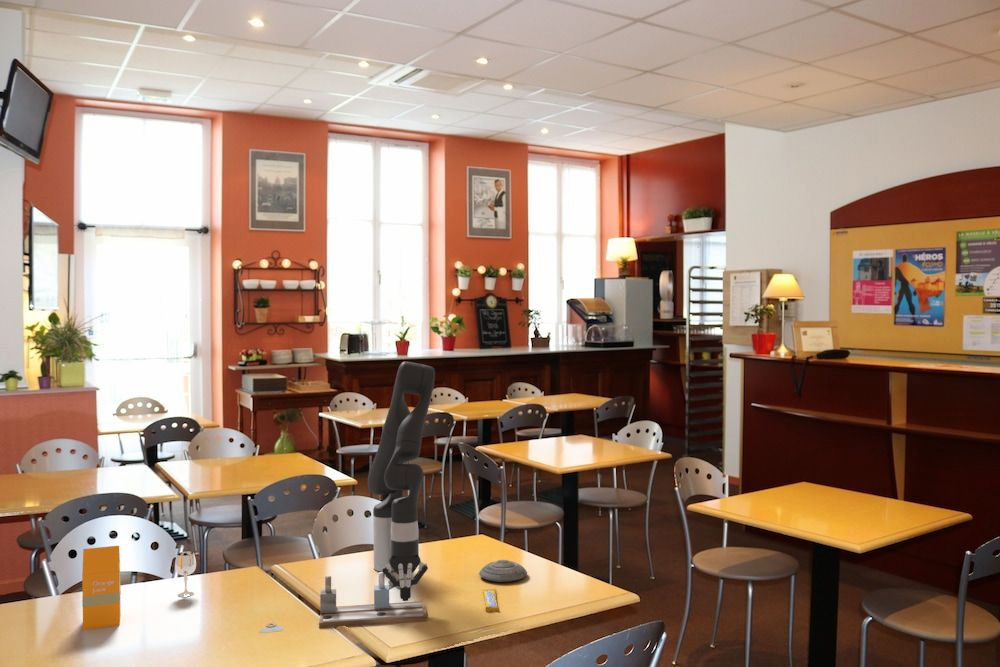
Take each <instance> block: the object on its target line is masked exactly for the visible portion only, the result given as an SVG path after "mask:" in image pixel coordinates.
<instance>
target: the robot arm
mask: <svg viewBox="0 0 1000 667" xmlns="http://www.w3.org/2000/svg"><path fill="white" fill-rule="evenodd" d="M435 379H436V371H435V368H434V366H430V365H426V364H422V363H417V362H412V361H403V362H401V363H400V365H399V366H398V369H397V372H396V377H395V380H394V385H393V386H394V387H393V391H392V396H391V402H390V406H389V408H388V412H387V414H386V418H385V420H384V424H383V428H382V431H381V436H380V441H379V444H378V447H377V451H376V453H375V456H374V458H373V460H372V462H371V466H370V468H369V471H368V475H367V488H368V491H369V492H370V493H371V494H372V495H376V496H379V495H388V496H387V497H386V498H385V499H384V500H382V501H381V502H379V503H377V504H375V505H374V506H373V509H372V510H373V512H372V513H373V515H372V518H373V525H372V526H373V569H374V570H375V571H377V572H383V573H384V576H386V577H387V579H388V581H391V582H392V584H393V585H394V586H399V587H400V590H399V598H400V600H402V602H409V599H411V597H412V596H411V594H412V592H411V588H412V587H413V586H414V585H417V584H418V583H419V582H420V581H421V579H422V578H423V576H424V574H425V573H426V572H427V571H428V569H429V567H428V565H427V563H424V562H422V561H421V557H420V556H419V555H420V554H419V552H420V551H419V541H420V540H419V536H420V533H419V524H418V523H419V522H418V505H419V504H418V503H419V497H420V492H421V489H422V485H423V482H424V477H425V476H424V470H423V468H422V467H421V466H420V465H419V464H415V463H413V464H412V463H406V462H410V461H414V460H417V459H418V458H419V457H420V454H421V448H422V440H423V432H424V426H425V424H426V423H425V422H426V419H427V416H428V412H429V407H430V403H431V399H432V394H433V390H434V386H435ZM405 394H410V395H414V396H420V398H419V400H418V403H417V405H416V406H415V407H414V408H413V410H412V411H410V409H409V407H408V405H407V402H406V398H405ZM404 491H409V493H408V495H407V496H404ZM417 568H418V571H417V572H416V573H415V575H414V576H413V578H412V574H414V572H415V571H416V570H417ZM392 572H395V573H396V574H397V575H398V576H399V577H398V579H397V578H396V577H395V575H394V574H393V573H392ZM404 575H405V576H404Z"/></svg>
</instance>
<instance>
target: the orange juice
mask: <svg viewBox="0 0 1000 667" xmlns="http://www.w3.org/2000/svg"><path fill="white" fill-rule="evenodd" d="M81 574H82V576H81V578H82V579H81V580H82V583H81V584H82V587H81V588H82V602H81V603H82V604H81V605H82V630H84V631H85V630H91V629H97V628H98V629H99V628H106V627H113V626H114V627H115V626H118V625H119V626H121V618H122V617H121V613H122V612H121V594H122V593H121V592H122V591H121V560H120V545H111V546H109V545H108V546H99V547H91V548H83V550H82V573H81Z"/></svg>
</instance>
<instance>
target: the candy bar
mask: <svg viewBox="0 0 1000 667" xmlns="http://www.w3.org/2000/svg"><path fill="white" fill-rule="evenodd" d="M497 592H498V590H497V589H496V588H488V589H482V595H483V599H484V600H483V601H484V605H485V609H484V610H485V612H487V613H492V612H500V610H501V609H500V606H498V601H497Z"/></svg>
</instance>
